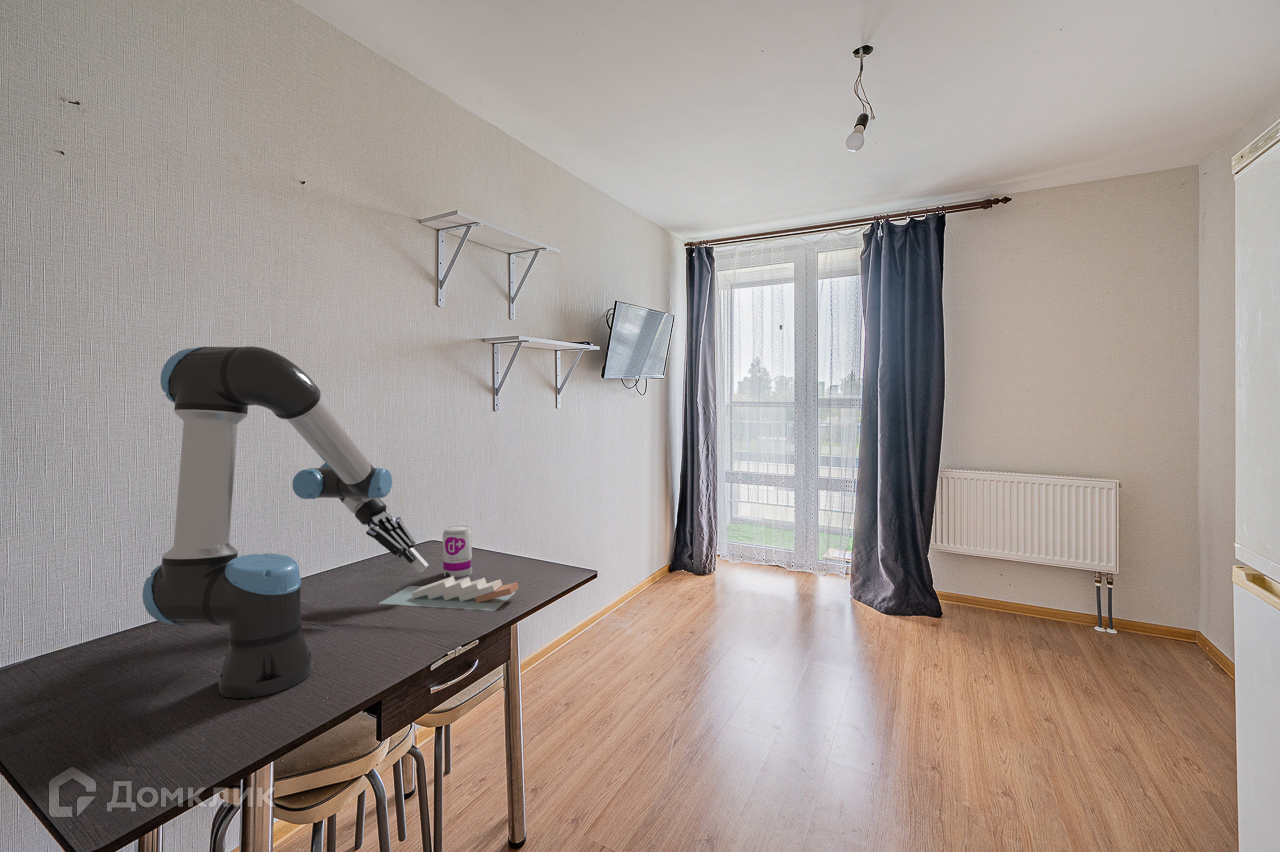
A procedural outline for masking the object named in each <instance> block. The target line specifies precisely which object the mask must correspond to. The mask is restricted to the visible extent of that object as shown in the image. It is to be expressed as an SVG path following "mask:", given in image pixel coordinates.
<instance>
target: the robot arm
mask: <svg viewBox="0 0 1280 852" xmlns="http://www.w3.org/2000/svg"><path fill="white" fill-rule="evenodd" d="M160 386H161V387H160V388H161V390H162V392H164V393H165V397H166V399H168V400H169V401H170V402H172V403H173V404H174V410H173V413H174V414H175V415H177V417H178V418H180V419H181V421H182V422H183V425H182V426H183V427H182V438H181V439H182V440H181V450H180V451H181V452H180V462H179V463H180V464H179V473H178V474H179V476H178V486H177V487H178V488H177V489H178V490H177V499H176V500H177V501H176V510H175V511H176V512H175V526H174V537H173V538H174V539H173V545H172V547H171V548H170V549H169V550H168V551H166V552H165V553H164V554H163V555H162V561H161V564H159V565H157V567H155V568H154V569H153V570H152V571H151V572H150V576H148V577H147V578H146V579H145V581H144V584H143V588H142V595H141V596H142V603H143V606H144V608H145V610H146V612H147V613H148V615H149V616H151V617H152V618H154V619H155V620H156V621H157V622H160V623H164V624H170V625H175V626H182V627H183V626H184V627H186V626H213V627H214V626H215V627H217V626H219V627H227V628H228V629H227V631H228V632H227V633H228V650H227V653H226V656H225V658H224V662H223V665H222V670H221V672H220V673H219V677H218V692H220V693H221V694H222V695H221V694H220V693H219V694H220V695H221V696H223V695H224V696H223V697H225V696H228V697H232V698H231V699H237V698H243V699H250V697H254V698H259V697H264V696H267V695H268V696H269V695H271V694H276V693H280V692H282V691H284V690H285V691H286V690H287V689H289V688H292V687H294V686H296V685H298V684H300V683H302V682H303V681H304V680H306V679H308V678H309V676H310V675H311V674H312V673H313V671H314V661H313V659H314V658H313V655H312V653H311V652H310V651H309V649H308V645H307V642H306V640H305V637H304V635H303V631H302V606H301V605H302V602H301V600H302V597H301V594H302V593H301V585H302V579H301V575H300V567H299V564H298V562H297V561H296V560H295V559H294V558H292V557H290V556H288V555H285V554H280V553H262V554H259V553H251V554H250V553H249V554H245V555H241V556H239V555H238V554H239V553H238V552H239V551H238V549H237V548H235V546H233V545H232V544H231V543H230V537H231V536H230V534H231V520H232V511H233V510H232V509H233V508H232V507H233V493H234V481H235V480H234V478H235V465H236V450H237V440H238V425H239V424H240V422H242V421H243V420H245V419H246V418H247V417H248V411H249V406H260V407H263V408H265V409H268V410H270V411H271V412H272V413H273V414H274V415H275V416H276V417H277V418H278V419H280V420H287V421H288V422H289V424H291V426H292V427H293V428H294V429H295V430H296V432H297V433H299V435H300V436H301V437H302V438H303V439H304V440H305V442H306V443H307V444H308V445H309V446H310V447H311V448H312V450H313V451H315V453H316V454H317V455H318V456H319V457H320V458H321V460H322V461H323V462H324V463H323V464H322V465H321V466H320V467H310V468H309V467H308V468H305V469H301V470H300V471H298V472H297V473H296V474H295V475H294V476H293V478H292V479H293V480H292V482H291V483H292V490H293V492H294V494H295V495H296V496H297V497H299V498H300V499H303V500H315V499H319V498H321V499H324V498H326V499H333V498H334V499H337V498H338V499H339V501H341V503H343V505H344V506H345V507H346V508H347V509H348V511H350V512H351V514H352V515H354V517H355V518H356V519H357V520H358V522H360V524H361V525H363V526H367V527H368V530H367V531H366V532H365V533H366V535H367V536H368V537H371V538H372V539H374V540H375V541H377V542H378V543H379V544H380V545H381V546H383V547H384V548H385V549H386V550H387V551H389V552H390V553H391V554H392V555H394V556H397V558H401V557H402V556H403V558H404V559H405V560H406V561H407V562H408V563H409V564H410V565H411V566H412V567H413V568H414V570H415V571H417V572H418V573H419V574H420V573H422V572H424V571H425V570H426V569H427V567H428V566H429V563H428V562H427V561H426V560H425V559H424V558H423V557H422V555H421V554H420V553H419V552H418V551H417V550H416V549H415V548H414V547H415V546H416V543H417V542H416V541H415V539H414V537H413V536H412V534H411V533H410V531H408V529H407V527H406V526H405V524H404V523H403V520H402V517H401V516H398V517H396V518H395V517H393V516H392V515H391V514H390V513H389V512H387V504H385V503H384V501H383V500H382V498H385V497H387V496H388V495H389V494H390V492H391V489H392V486H393V477H392V473H391V472H390V470H389V469H386V468H381V467H377V468H375V466H373V465H372V464H371V462H370V460H368V458H367V457H366V455H364V453H363V452H362V450H361V449H360V448H359V447H358V446H357V444H356V443H355V442H354V440H353V438H351V436H350V435H349V434H348V433H347V431H346V430H345V429H344V427H343V426H342V425H341V424H340V422H339V420H337V419H336V417H335V416H334V414H332V412H331V411H330V410H329V408H328V407H327V406H326V404H325V403H324V402H323V401H322V393H321V390H320V387H319V388H318V386H317V384H316V383H315V382H314V381H313V379H311V377H310V376H309V375H308V374H307V373H306V372H305V371H303V370H302V369H301V367H299V366H298V365H296V364H295V363H294V362H292V361H291V360H289V359H288V358H287V357H285V356H283V355H281V354H279V353H277V352H275V351H273V350H271V349H269V348H268V349H267V348H264V347H262V346H261V347H259V346H206V345H205V346H198V347H197V346H196V347H193V348H191V347H190V348H185V349H182V350H179V351H177V352H176V353H174V354H173V355H171V356H170V357H168V359H167V360H166V362H165V363H164V365H163V367H162V369H161V373H160ZM228 697H227V698H228Z"/></svg>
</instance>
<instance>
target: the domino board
mask: <svg viewBox="0 0 1280 852" xmlns="http://www.w3.org/2000/svg"><path fill="white" fill-rule="evenodd" d="M421 587H422V586H419V585H418V586H417V585H408V586H406V587H404V588H403V589H402V590H400V591H398V592H396V593H394V594H393V595H391V596H389V597H387V598H386V599H384V600H382V601H380V602H378V605H391V606H392V605H393V606H409V607H410V606H411V607H427V608H440V609H441V608H443V609H457V610H458V609H459V610H472V611H473V610H475V611H478V610H479V611H489V612H490V611H492V612H496V611H497V609H499V608H500V607H501V606H502V605H504V604H505V603H506V602H507V601H508V600H509V599H510V598H512V597H513V596H514V595H515V594H516V593H517V591H515V592H513V593H512V594H510V595H506V596H502V597H498V598H494V599H490V600H486V601H482V602H478V603H476V599H475V597H474V598H471V599H468V600H465V601H461V602H460V599H459V596H457V597H454V598H451V599H448V600H445V599H444V597H443V595H442V596H439V597H436V598H433V599H430V600H429V598H428V595H427V594H426V595H423V596H421V597H418V598H415V599H413V596H412V594H411V593H413V592H414V591H416V590H418V589H419V588H421Z"/></svg>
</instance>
